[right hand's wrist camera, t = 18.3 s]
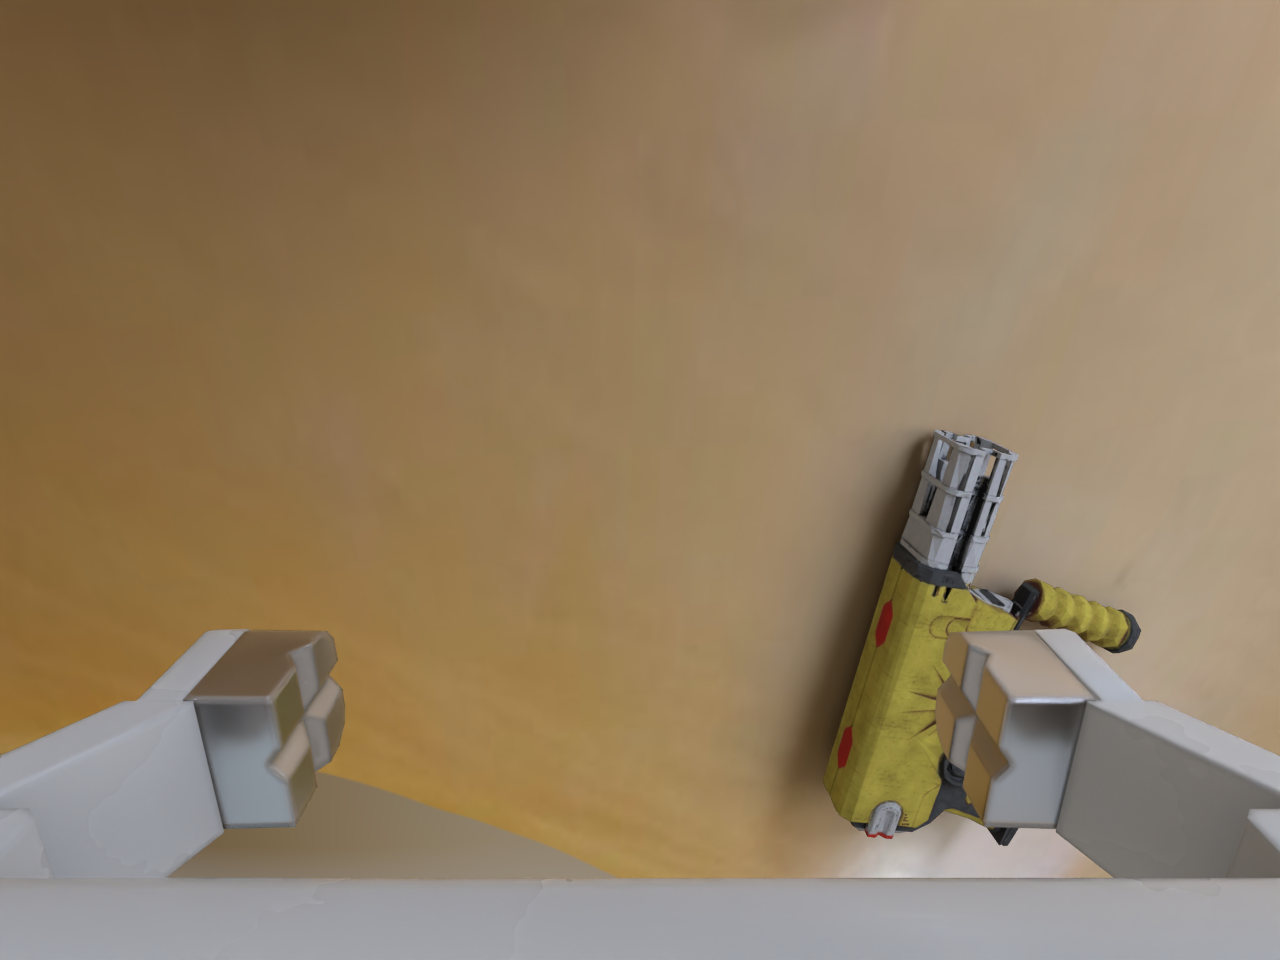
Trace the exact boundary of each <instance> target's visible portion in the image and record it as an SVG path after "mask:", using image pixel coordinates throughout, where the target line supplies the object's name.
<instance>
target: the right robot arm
mask: <svg viewBox="0 0 1280 960" xmlns="http://www.w3.org/2000/svg"><path fill="white" fill-rule="evenodd" d="M337 661H338V658H337V653H336V648H335V643H334V638H333V637H332V636H331V635H330V634H329V633H328V632H327V631H301V630H249V629H220V630H211V631H206V632H205V633H204V634H203V635H202V636H201V637H200V638H199V639H198V640H197V641H196V642H195V643H194V644H193V645H192V646H191V647H190V648H189V649H188V650H187V651H186V652H185V653H184V654H183V655H182V656H181V657H180V658H179V659H178V660H177V661H176V662H175V663H174V664H173V665H172V666H171V667H170V668H169V669H168V670H167V671H166V672H165V673H164V674H163V675H162V676H161V677H160V678H159V679H158V680H157V681H156V682H155V683H154V684H153V685H152V686H151V687H150V688H149V689H148V690H147V691H146V692H145V693H144V694H143V695H142V696H141V697H140V698H139V699H138V700H137V701H123V702H120V703H118V704H116V705H114V706H111V707H109V708H107V709H105V710H102V711H100V712H98V713H96V714H93V715H91V716H89V717H87V718H84V719H82V720H80V721H78V722H75V723H73V724H71V725H69V726H66V727H64V728H62V729H60V730H57V731H55V732H53V733H51V734H48V735H46V736H44V737H41V738H39V739H37V740H35V741H32V742H30V743H28V744H26V745H23V746H21V747H19V748H17V749H14V750H12V751H10V752H8V753H5V754H3V755H1V756H0V960H1280V756H1279V755H1276V754H1274V753H1272V752H1270V751H1268V750H1265V749H1263V748H1261V747H1259V746H1256V745H1254V744H1252V743H1250V742H1247V741H1245V740H1243V739H1241V738H1238V737H1236V736H1234V735H1232V734H1229V733H1227V732H1225V731H1223V730H1220V729H1218V728H1216V727H1214V726H1211V725H1209V724H1207V723H1205V722H1202V721H1200V720H1198V719H1196V718H1193V717H1191V716H1189V715H1187V714H1184V713H1182V712H1180V711H1178V710H1175V709H1173V708H1171V707H1169V706H1166V705H1164V704H1162V703H1160V702H1157V701H1143V700H1142V699H1141V698H1140V697H1139V696H1138V695H1137V694H1136V693H1135V692H1134V691H1133V690H1132V689H1131V688H1130V687H1129V686H1128V685H1127V684H1126V683H1125V682H1124V681H1123V680H1122V679H1121V678H1120V677H1119V676H1118V675H1117V674H1116V673H1115V672H1114V671H1113V670H1112V669H1111V668H1110V667H1109V666H1108V665H1107V664H1106V663H1105V662H1104V661H1103V660H1102V659H1101V658H1100V657H1099V656H1098V655H1097V654H1096V653H1095V652H1094V651H1093V650H1092V649H1091V648H1090V647H1089V646H1088V645H1087V644H1086V643H1085V642H1084V641H1083V640H1082V639H1081V638H1080V637H1079V636H1078V635H1077V634H1076V633H1075V632H1072V631H1070V630H1067V629H1044V630H1013V631H973V632H950V634H949V636H948V638H947V640H946V642H945V646H944V652H943V658H942V661H943V662H944V664H945V666H946V667H947V669H948V670H949V672H950V674H951V676H950V677H949V678H948V679H947V680H946V681H945V682H944V683H943V684H942V685H941V686H940V687H939V688H938V689H937V697H936V705H935V718H936V729H937V734H938V737H939V741H940V744H941V747H942V749H943V751H944V753H945V755H946V757H947V759H948V761H949V762H950V763H952V764H953V765H955V766H957V767H958V768H960V769H961V770H963V771H964V772H965V775H964V781H963V788H964V790H965V792H966V794H967V796H968V797H969V799H970V801H971V803H972V805H973V806H974V808H975V810H976V812H977V814H978V815H979V817H980V819H981V821H982V823H983V824H984V826H985V827H1007V828H1043V829H1056V833H1058V834H1059V835H1060V836H1061V837H1063V838H1064V839H1065V840H1067V841H1068V842H1069V843H1070V844H1072V845H1073V846H1074V847H1075V848H1077V849H1078V850H1079V851H1081V852H1082V853H1083V854H1084V855H1086V856H1087V857H1088V858H1089V859H1091V860H1092V861H1093V862H1095V863H1096V864H1097V865H1098V866H1100V867H1101V868H1102V869H1103V870H1105V871H1106V872H1107V873H1109V874H1110V875H1111V876H1112V877H1114V878H167V877H168V876H169V875H170V874H172V873H173V872H174V871H175V870H177V869H178V868H179V867H181V866H182V865H183V864H184V863H186V862H187V861H188V860H190V859H191V858H192V857H193V856H195V855H196V854H197V853H198V852H200V851H201V850H202V849H204V848H205V847H206V846H207V845H209V844H210V843H211V842H212V841H214V840H215V839H216V838H218V837H219V836H220V835H221V834H223V833H224V829H235V828H271V827H295V826H296V825H297V823H298V821H299V819H300V817H301V816H302V814H303V812H304V810H305V808H306V807H307V805H308V803H309V801H310V799H311V797H312V796H313V794H314V792H315V790H316V788H317V781H316V775H315V772H316V771H317V770H319V769H320V768H322V767H323V766H325V765H327V764H328V763H330V762H331V761H332V759H333V757H334V755H335V753H336V751H337V749H338V747H339V745H340V741H341V736H342V732H343V728H344V724H345V703H344V696H343V689H342V688H341V687H340V686H339V685H338V684H337V683H336V682H335V681H334V680H333V679H332V678H331V677H330V676H329V674H330V672H331V670H332V669H333V667H334V666H335V664H336V662H337Z"/></svg>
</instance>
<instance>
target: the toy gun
mask: <svg viewBox="0 0 1280 960" xmlns="http://www.w3.org/2000/svg"><path fill="white" fill-rule="evenodd" d="M933 436H934V441H933V444H932V447H931V450H930V453H929V456H928V459H927V462H926V465H925V468H924V470H922V472H921V476H922V478H921V481H920V484H919V488H918V491H917V494H916V497H915V500H914V503H913V506H912V508H911V509H910V511H909V515H910V516H909V519H908V521H907V524H906V527H905V529H904V532H903V534H902V537H901V540H900V541H899V542H897V543H896V544H895V548H894V551H893V555H892V558H891V562H890V565H889V568H888V571H887V575H886V578H885V581H884V584H883V587H882V591H881V594H880V597H879V600H878V604H877V607H876V610H875V613H874V617H873V620H872V623H871V626H870V629H869V633H868V636H867V639H866V642H865V646H864V649H863V652H862V655H861V658H860V662H859V665H858V668H857V671H856V675H855V678H854V681H853V684H852V687H851V691H850V694H849V697H848V700H847V704H846V707H845V710H844V713H843V717H842V720H841V723H840V726H839V729H838V733H837V736H836V739H835V742H834V746H833V749H832V752H831V755H830V758H829V762H828V765H827V768H826V771H825V775H824V778H823V783H824V785H825V787H826V789H827V791H828V793H829V795H830V797H831V799H832V802H833V804H834V807H835V809H836V811H837V812H838V813H839V815H840V816H842V817H843V818H845V819H847V820H848V821H850V822H851V824H852V825H853V826H854V827H856V828H857V829H858V830H859V831H865V833H866V835H867V837H873V838H875V837H876V836H877V835H880V836H882V837H884V838H886V839H892V838H893V835H894V833H902V832H913V831H915V830H917V829H919V828H921V827H923V826H925V825H927V824H929V823H931V822H932V821H933V820H934V819H935V818H936V817H937V816H938V815H939V814H940V813H941V812H943V811H947V812H950V813H953V814H957V815H960V816H963V817H966V818H969V819H971V820H973V821H975V822H976V823H978V824H980V825H982V826H984V824H983V823H982V821H981V819H980V817H979V815H978V814H977V812H976V810H975V808H974V806H973V805H972V803H971V801H970V799H969V797H968V796H967V794H966V792H965V790H964V788H963V781H964V775H965V772H964V771H963V770H961V769H960V768H958V767H957V766H955V765H953V764H952V763H950V762H949V761H948V759H947V757H946V755H945V753H944V751H943V749H942V747H941V744H940V741H939V737H938V734H937V729H936V718H935V705H936V697H937V689H938V688H939V687H940V686H941V685H942V684H943V683H944V682H945V681H946V680H947V679H948V678H949V677H950V676H951V674H950V672H949V670H948V669H947V667H946V666H945V664H944V662H943V661H942V658H943V652H944V646H945V642H946V640H947V638H948V636H949V634H950V632H973V631H1013V630H1018V629H1019V627H1020V625H1021V624H1022V622H1023V620H1024V619H1026V620H1028V621H1031V622H1036V621H1039V623H1040V624H1041V625H1043V626H1045V627H1048V628H1050V629H1055V628H1056V629H1067V630H1070V631H1072V632H1075V633H1076V634H1077V635H1078V636H1079V637H1080V638H1081V639H1082V640H1084V641H1090V642H1091V643H1093V644H1095V645H1097V646H1099V647H1102V648H1104V649H1106V650H1108V651H1110V652H1112V653H1120V652H1124V651H1127V650H1130V649H1132V648H1133V646H1134V645H1135V643H1136V641H1137V640H1138V638H1139V635H1140V632H1141V629H1140V628H1139V626H1138V624H1137V622H1136V620H1135V618H1134V617H1133V615H1131V614H1129V613H1128V612H1126V611H1124V610H1116V609H1114V608H1111V607H1105V608H1104V607H1103V606H1101V605H1100V604H1098V603H1097V602H1095V601H1087V600H1086V599H1085V598H1084V597H1082V596H1079V595H1073V594H1070V593H1068V592H1067V591H1065V590H1063V589H1061V588H1059V587H1057V588H1053V587H1052V586H1051V585H1049V584H1047V583H1044V582H1042V581H1040V580H1038V579H1031V580H1025V581H1024V582H1023V583H1022V584H1021V586H1020V587H1019V588H1018V589H1017V591H1016V592H1015V594H1014V598H1013V600H1012V601H1011V600H1009V599H1007V598H1005V597H1002V596H1000V595H998V594H995V593H993V592H991V591H988V590H984V589H980V588H977V587H974V586H971V585H972V582H973V579H974V577H975V574H976V573H977V572H978V569H979V565H978V563H979V560H980V558H981V555H982V553H983V550H984V548H985V545H986V543H987V542H988V541H989V538H990V536H989V533H990V530H991V528H992V525H993V522H994V519H995V516H996V514H997V511H998V508H999V505H1000V502H1002V500H1003V497H1004V496H1003V495H1002V493H1003V490H1004V488H1005V485H1006V482H1007V480H1008V477H1009V475H1010V472H1011V470H1012V467H1013V464H1014V462H1015V461H1017V459H1018V455H1017V454H1016V453H1014V452H1012V451H1010V450H1008V449H1006V448H1004V447H1002V446H1000V445H998V444H996V443H994V442H992V441H990V440H988V439H985V438H982V437H978V436H973V435H966V434H965V435H964V437H963V436H958V435H956V434H954V433H952V432H949V431H942V430H935V432H934V435H933ZM952 439H953V440H955V441H960V442H962V443H958V442H955V441H953V440H952ZM971 441H974V442H975V445H974V448H972V447H970V442H971ZM950 446H951V447H953V450H952V453H951V456H950V459H949V461H947V460H946V456H947V453H948V450H949V447H950ZM993 448H994V449H996V450H997V451H995V450H992V449H993ZM998 451H999V452H998ZM990 455H993V456H995V457H996V460H995V463H994V466H993V469H992V472H991V475H990V477H989V476H984V474H985V471H986V468H987V465H988V462H989V459H990ZM984 827H985V826H984ZM986 828H987V829H988V830H989V831H990V833H991V834H992V836H993V837H994V839H995V840H996V841H997V843H998V844H999V845H1001V844H1002V845H1003V846H1007V845H1008V844H1009V843H1010V841H1011V840H1012V838H1013V836H1014V835H1015V833H1016V831H1017V830H1018V828H1007V827H986Z"/></svg>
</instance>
